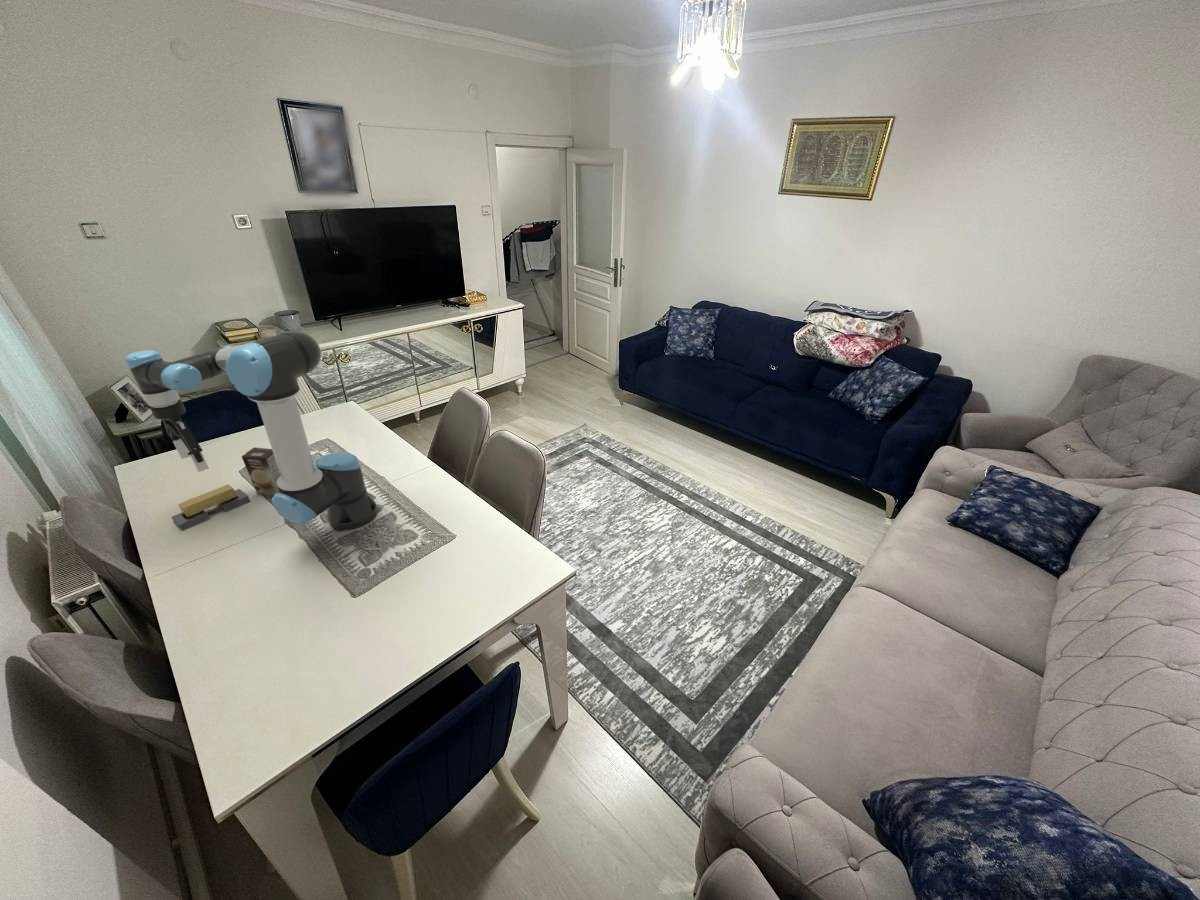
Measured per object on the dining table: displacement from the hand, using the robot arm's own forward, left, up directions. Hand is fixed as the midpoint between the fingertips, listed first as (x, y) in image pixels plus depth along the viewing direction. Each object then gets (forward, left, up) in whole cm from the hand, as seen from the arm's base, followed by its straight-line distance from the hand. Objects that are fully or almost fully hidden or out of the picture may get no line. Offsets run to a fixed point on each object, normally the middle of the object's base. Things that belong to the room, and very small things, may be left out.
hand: (195, 463), depth 153 cm
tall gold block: (+1, +1, -19) cm, 19 cm away
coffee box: (-2, -17, -19) cm, 26 cm away
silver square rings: (+1, +1, -19) cm, 19 cm away
